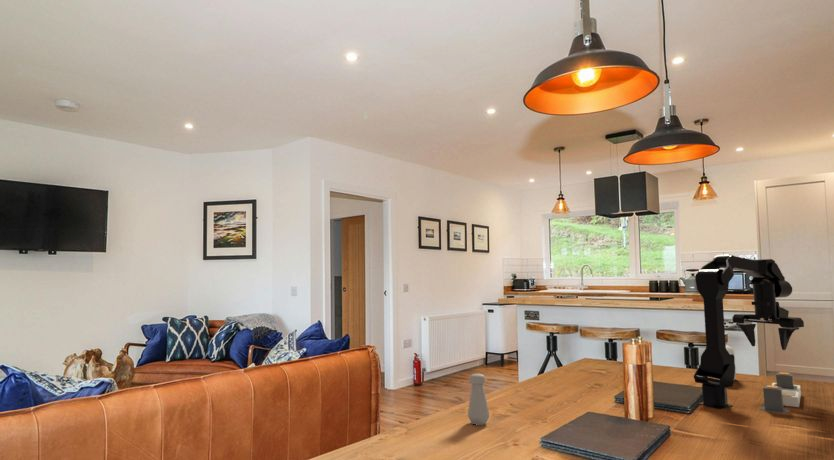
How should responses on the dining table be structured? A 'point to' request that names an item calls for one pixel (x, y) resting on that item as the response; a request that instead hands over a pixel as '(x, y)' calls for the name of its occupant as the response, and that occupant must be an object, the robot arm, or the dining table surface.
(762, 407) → the coaster
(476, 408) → the salt shaker
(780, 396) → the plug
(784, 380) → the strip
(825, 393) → the dining table surface
